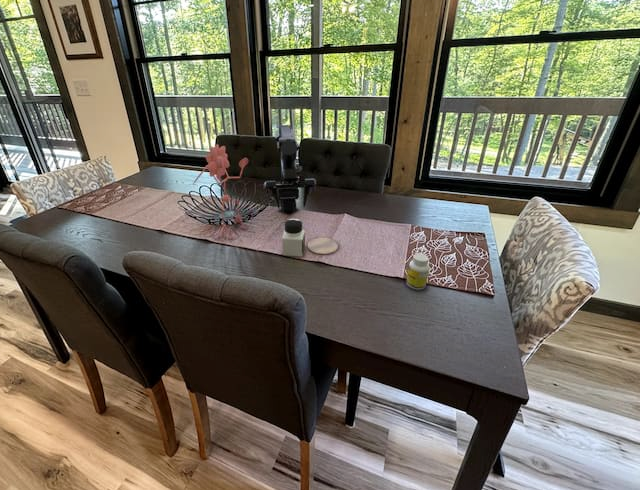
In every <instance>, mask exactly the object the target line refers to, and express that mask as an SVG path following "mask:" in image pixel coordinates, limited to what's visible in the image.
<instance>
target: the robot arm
mask: <svg viewBox="0 0 640 490" xmlns="http://www.w3.org/2000/svg"><path fill="white" fill-rule="evenodd" d="M274 135H275V136H274V137H275V143H276V145H277V153H279V155H280V168H281V169H280V170H281V178H280V181H279V183H276V180H266V181H264V193H265V194H268V196H271V197H272V198H273V200H274V202H275V204H276V207H277V208H278V212H281V213H284V214H287V215H291V214H293V213H295V212H297V211H298V210H299V208H297V202H296V201H297V200H299V198H300V189H303V200H302V201H303V202H302V203H303V204H302V205H303V208H305V207H306V204H307V199H308V197H309V194H312V192H314V191H316V187H317V180H316V179H315V178H304V181H303V182H302V181H301V182H299V177H302V176H303V173H304V172H303V166H302V165H301V166H300V165H299V166H297V156H298V155H297V154H298V152H299V150H300V144H299V143H298V140H296V138H295V132H294V129H292V127H291V125H289V124H281V125H278V129H276V130H275V131H274Z"/></svg>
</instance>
